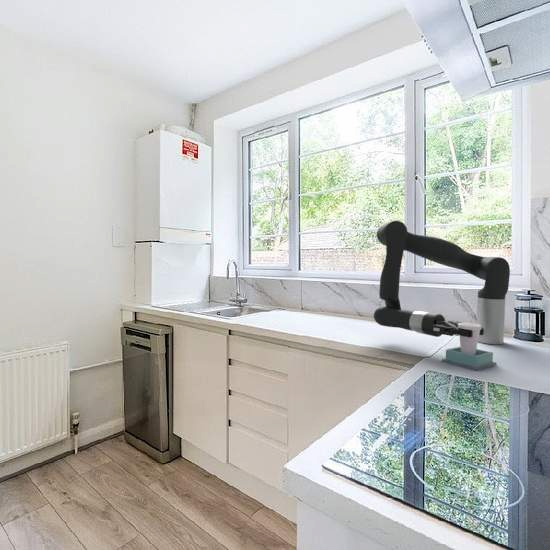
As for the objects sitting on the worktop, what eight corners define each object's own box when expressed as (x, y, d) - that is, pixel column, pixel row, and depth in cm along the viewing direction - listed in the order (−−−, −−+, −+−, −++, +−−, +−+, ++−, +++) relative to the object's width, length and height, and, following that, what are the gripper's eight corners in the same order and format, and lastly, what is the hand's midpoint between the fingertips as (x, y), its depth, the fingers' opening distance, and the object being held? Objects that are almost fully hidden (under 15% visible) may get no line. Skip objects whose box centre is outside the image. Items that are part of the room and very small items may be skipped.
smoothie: (474, 353, 111) (476, 309, 110) (484, 359, 104) (486, 312, 103) (452, 352, 111) (455, 308, 110) (461, 358, 105) (463, 312, 104)
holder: (460, 356, 115) (461, 345, 115) (496, 365, 106) (497, 352, 106) (441, 361, 109) (442, 349, 109) (478, 371, 100) (478, 358, 100)
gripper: (414, 314, 115) (465, 322, 101) (439, 311, 123) (490, 318, 109) (413, 336, 115) (464, 348, 101) (438, 332, 123) (489, 342, 109)
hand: (477, 332), depth 105 cm, fingers closed on smoothie, 6 cm apart
